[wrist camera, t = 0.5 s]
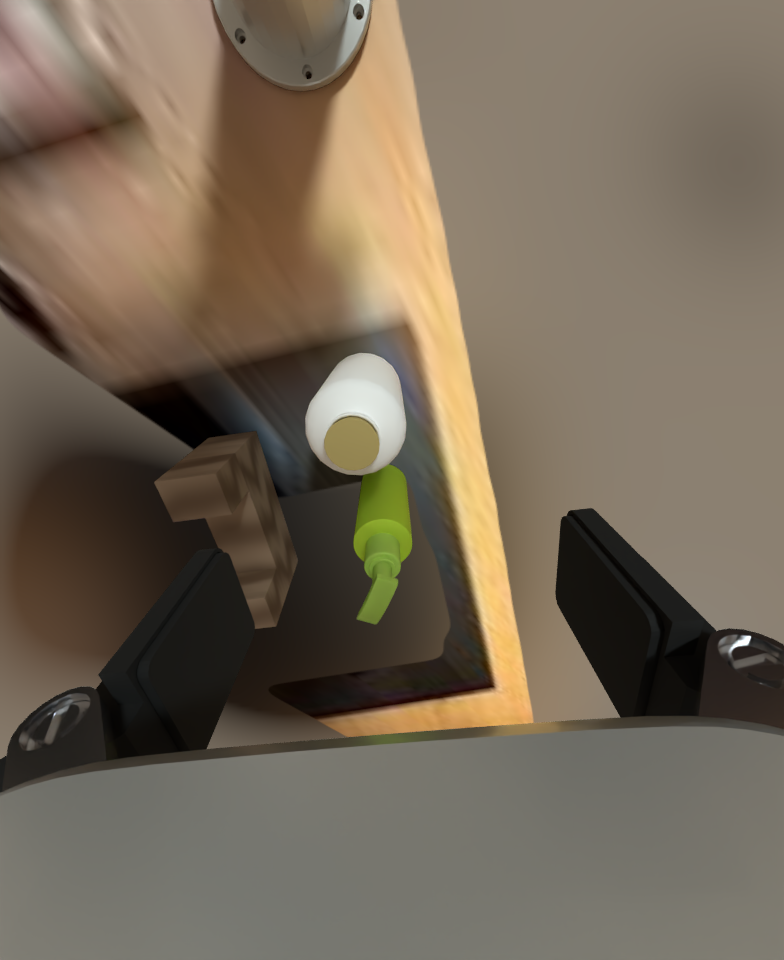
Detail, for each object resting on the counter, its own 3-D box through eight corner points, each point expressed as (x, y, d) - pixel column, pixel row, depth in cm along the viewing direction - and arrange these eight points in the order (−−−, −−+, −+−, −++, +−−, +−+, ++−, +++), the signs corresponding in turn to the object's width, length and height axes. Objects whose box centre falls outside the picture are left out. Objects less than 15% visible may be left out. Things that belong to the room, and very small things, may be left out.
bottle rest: (208, 437, 46) (154, 482, 35) (256, 430, 46) (215, 473, 35) (258, 565, 55) (226, 632, 44) (298, 560, 55) (276, 626, 44)
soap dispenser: (353, 502, 50) (333, 617, 32) (370, 457, 47) (359, 557, 30) (393, 515, 51) (397, 634, 33) (413, 472, 48) (428, 578, 30)
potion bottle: (398, 348, 42) (404, 383, 25) (403, 420, 45) (412, 491, 29) (323, 354, 42) (283, 393, 26) (334, 426, 45) (306, 499, 29)
